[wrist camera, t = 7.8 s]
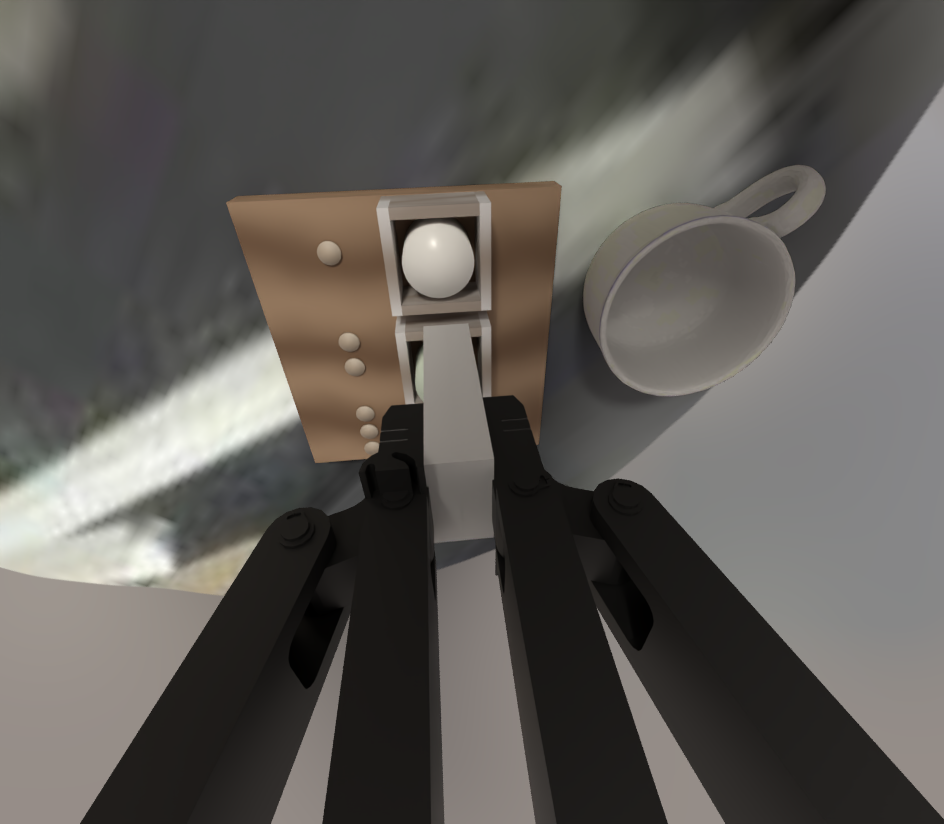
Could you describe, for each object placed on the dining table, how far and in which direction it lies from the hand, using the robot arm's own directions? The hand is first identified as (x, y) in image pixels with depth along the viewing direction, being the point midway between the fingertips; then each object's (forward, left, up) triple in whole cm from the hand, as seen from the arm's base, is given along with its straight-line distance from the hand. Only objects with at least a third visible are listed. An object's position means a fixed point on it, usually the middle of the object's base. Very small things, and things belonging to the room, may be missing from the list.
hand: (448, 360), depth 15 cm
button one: (0, 0, -14) cm, 14 cm away
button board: (+7, -2, -16) cm, 18 cm away
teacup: (+2, +15, -16) cm, 22 cm away
